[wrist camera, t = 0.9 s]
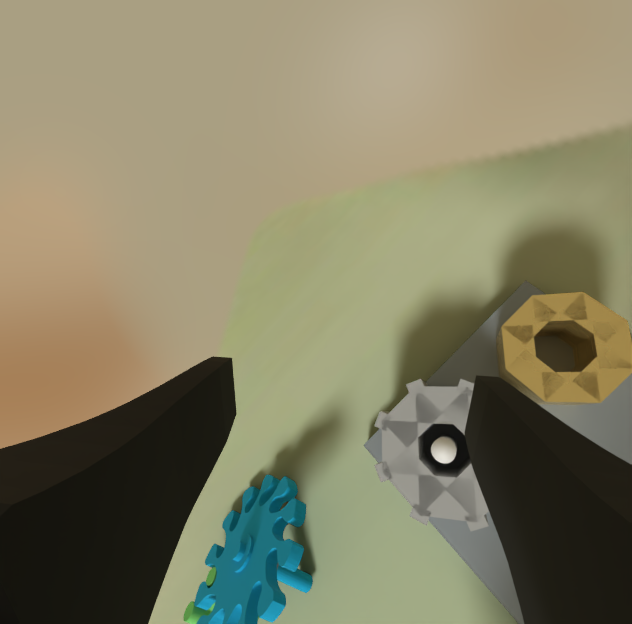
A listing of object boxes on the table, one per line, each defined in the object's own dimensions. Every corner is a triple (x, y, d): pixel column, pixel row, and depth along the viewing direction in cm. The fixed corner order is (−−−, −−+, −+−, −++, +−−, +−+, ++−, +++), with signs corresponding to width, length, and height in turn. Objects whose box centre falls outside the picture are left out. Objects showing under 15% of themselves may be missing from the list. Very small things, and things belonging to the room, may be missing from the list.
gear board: (789, 471, 18) (918, 492, 13) (568, 672, 19) (606, 765, 14) (520, 284, 25) (535, 249, 20) (365, 441, 26) (340, 448, 21)
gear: (285, 440, 26) (291, 591, 17) (345, 478, 28) (379, 632, 19) (193, 532, 29) (154, 707, 20) (254, 561, 31) (245, 733, 21)
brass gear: (628, 355, 21) (662, 343, 17) (556, 425, 21) (575, 427, 18) (540, 295, 23) (554, 273, 20) (477, 358, 24) (480, 348, 20)
